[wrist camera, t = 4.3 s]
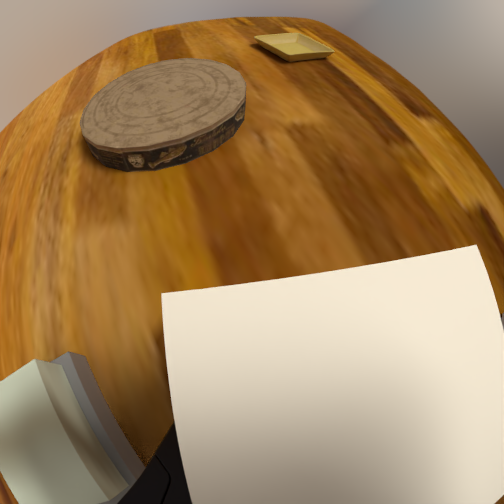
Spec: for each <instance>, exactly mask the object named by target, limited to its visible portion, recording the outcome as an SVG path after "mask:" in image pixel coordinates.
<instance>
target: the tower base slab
mask: <svg viewBox="0 0 504 504" xmlns="http://www.w3.org/2000/svg"><path fill="white" fill-rule="evenodd" d="M50 363H55V364H59V365H62V367H63V370H64V372H65V374H66V377H67V379H68V381H69V384H70V386H71V388H72V390H73V393H74V395H75V397H76V399H77V401H78V403H79V405H80V407H81V409H82V411H83V413H84V415H85V417H86V419H87V421H88V423H89V424H90V426H91V428H92V430H93V432H94V433H95V435H96V437H97V439H98V440H99V442H100V444H101V445H102V447H103V448H104V450H105V452H106V453H107V455H108V456H109V458H110V459H111V461H112V462H113V464H114V465H115V467H116V468H117V470H118V471H119V473H120V474H121V475H122V477H123V478H124V480H125V481H126V482H127V484H128V485H129V486H128V487H127V488H125V489H124V490H123V491H121V492H120V493H119V494H118V495H116V496H115V497H114V498H112V499H111V500H110V501H106V502H102V503H99V504H117V503H118V502H119V501H120V499H121V498H122V497H123V496H124V495H125V494H126V493H127V491H128V490H129V489H130V488H131V487H132V485H133V484H134V483H135V482H136V480H137V479H138V478H139V477H140V475H141V474H142V472H143V471H144V469H145V468H146V467H145V466H144V465H143V463H142V462H141V460H140V459H139V457H138V456H137V454H136V453H135V451H134V450H133V448H132V446H131V445H130V443H129V442H128V440H127V438H126V437H125V435H124V433H123V432H122V430H121V428H120V427H119V425H118V423H117V421H116V419H115V418H114V416H113V414H112V412H111V410H110V408H109V406H108V405H107V403H106V401H105V399H104V397H103V395H102V393H101V391H100V388H99V386H98V384H97V382H96V380H95V378H94V376H93V373H92V371H91V369H90V366H89V364H88V362H87V359H86V357H85V356H83V355H79V354H76V353H72V352H67V353H65V354H64V355H62V356H60V357H58V358H57V359H55V360H53V361H51V362H50Z"/></svg>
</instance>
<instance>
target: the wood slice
mask: <svg viewBox="0 0 504 504" xmlns="http://www.w3.org/2000/svg"><path fill="white" fill-rule="evenodd" d="M245 102H246V82H245V81H244V79H243V77H242V76H241V74H240V73H239V72H238V71H236V70H235V69H233V68H231V67H230V66H228V65H226V64H223V63H219V62H216V61H212V60H207V59H195V58H185V59H173V60H166V61H161V62H157V63H153V64H148V65H145V66H143V67H140V68H137V69H135V70H132V71H130V72H127V73H126V74H124V75H122V76H120V77H118V78H117V79H115V80H113V81H112V82H110V83H108V84H107V85H106V86H105V87H104V88H102V89H101V90H100V91H99V92H98V93H97V94H95V95H94V96H93V98H92V99H91V100H90V102H89V103H88V104H87V106H86V107H85V108H84V111H83V114H82V117H81V120H80V126H81V129H82V133H83V136H84V138H85V140H86V142H87V144H88V146H89V149H90V151H91V153H92V155H93V156H94V157H95V158H96V159H97V160H99V161H100V162H101V163H102V164H103V165H105V166H106V167H110V168H114V169H118V170H122V171H126V172H135V171H157V170H160V169H164V168H168V167H173V166H177V165H181V164H185V163H188V162H190V161H192V160H194V159H196V158H199V157H201V156H203V155H205V154H208V153H210V152H212V151H214V150H215V149H217V148H218V147H219V146H221V145H222V144H223V143H224V142H226V141H227V140H228V139H230V138H231V137H233V136H234V134H235V133H236V131H237V130H238V128H239V127H240V125H241V124H242V122H243V121H244V115H245Z"/></svg>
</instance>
